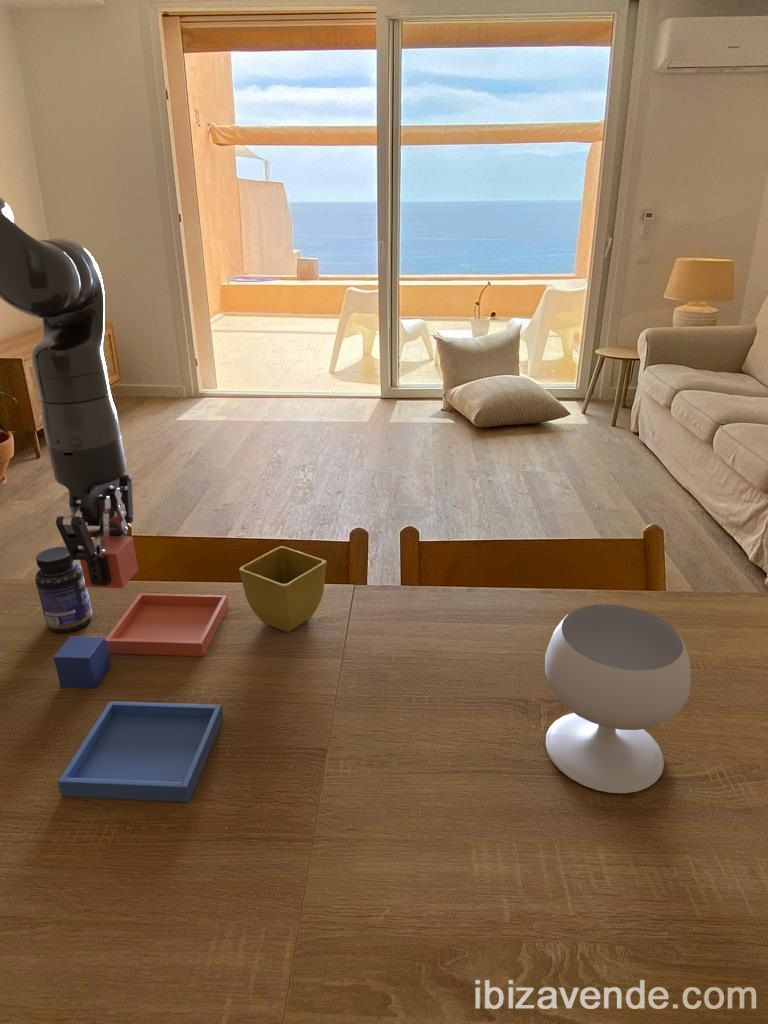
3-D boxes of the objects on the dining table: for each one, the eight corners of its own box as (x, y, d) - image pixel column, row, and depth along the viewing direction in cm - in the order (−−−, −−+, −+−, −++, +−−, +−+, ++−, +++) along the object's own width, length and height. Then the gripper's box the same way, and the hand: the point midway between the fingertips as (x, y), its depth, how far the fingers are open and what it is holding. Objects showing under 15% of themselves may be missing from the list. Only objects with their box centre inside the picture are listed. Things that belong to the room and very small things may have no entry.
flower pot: (285, 597, 104) (281, 544, 101) (330, 615, 100) (327, 560, 96) (243, 624, 98) (237, 568, 94) (289, 644, 93) (284, 586, 90)
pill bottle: (98, 625, 98) (83, 556, 94) (52, 639, 95) (34, 568, 91) (87, 606, 103) (72, 539, 99) (43, 619, 100) (26, 551, 95)
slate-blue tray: (61, 796, 70) (57, 781, 69) (112, 714, 81) (109, 701, 80) (189, 802, 69) (186, 787, 68) (223, 718, 80) (221, 705, 79)
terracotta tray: (106, 653, 92) (103, 640, 91) (141, 604, 103) (139, 593, 102) (203, 656, 91) (201, 643, 90) (228, 606, 102) (227, 595, 102)
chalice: (525, 780, 71) (536, 659, 65) (548, 697, 83) (559, 588, 77) (671, 820, 66) (699, 694, 60) (673, 726, 78) (696, 612, 72)
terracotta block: (85, 587, 81) (78, 553, 79) (103, 568, 85) (96, 535, 83) (122, 588, 81) (116, 554, 79) (138, 569, 85) (132, 536, 83)
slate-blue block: (60, 687, 86) (52, 657, 84) (77, 664, 90) (70, 635, 88) (95, 688, 85) (88, 658, 84) (111, 666, 90) (104, 636, 88)
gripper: (82, 417, 82) (108, 545, 89) (13, 457, 69) (50, 604, 76) (143, 417, 82) (164, 546, 89) (85, 458, 69) (115, 606, 76)
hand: (111, 572), depth 83 cm, fingers closed on terracotta block, 4 cm apart
